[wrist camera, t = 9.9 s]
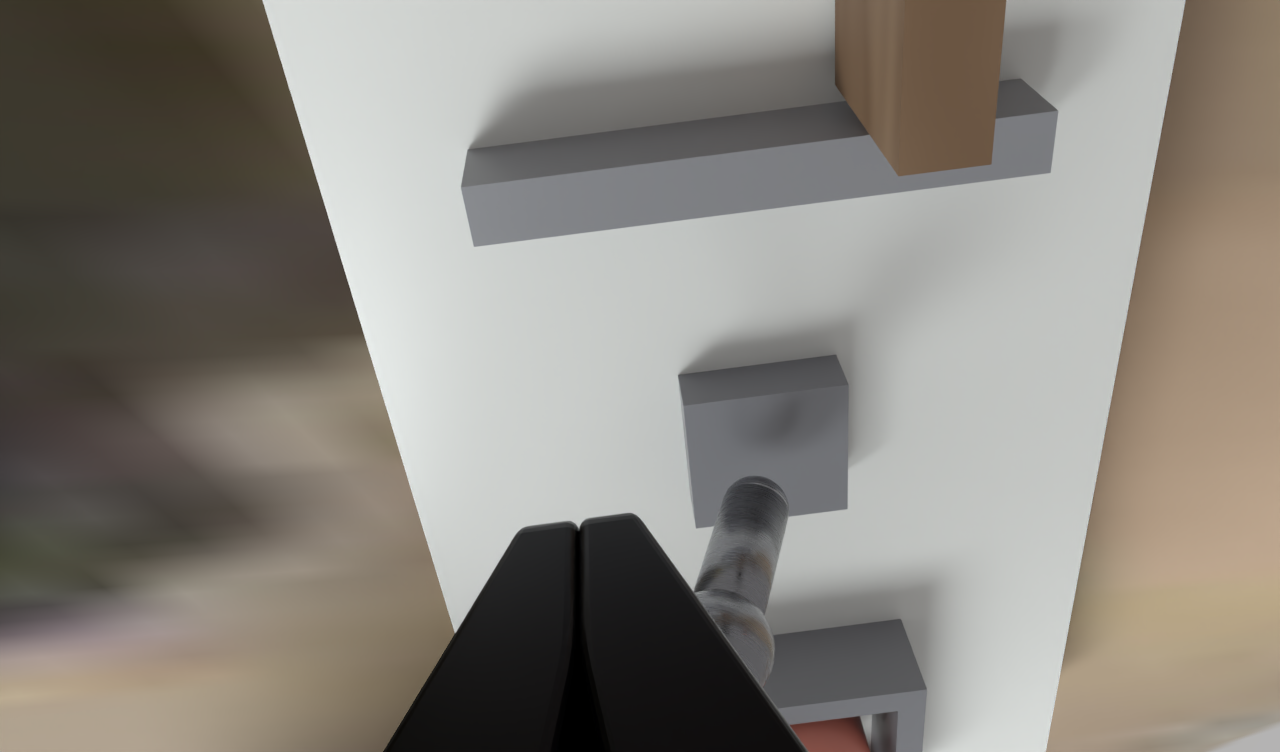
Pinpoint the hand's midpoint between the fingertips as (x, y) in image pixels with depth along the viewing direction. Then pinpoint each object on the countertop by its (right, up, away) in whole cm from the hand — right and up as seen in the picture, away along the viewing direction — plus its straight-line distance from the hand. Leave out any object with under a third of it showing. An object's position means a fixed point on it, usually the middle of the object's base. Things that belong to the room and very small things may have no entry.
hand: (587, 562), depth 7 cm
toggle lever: (+3, 0, +12) cm, 12 cm away
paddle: (+4, +8, +8) cm, 12 cm away
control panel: (+3, +2, +14) cm, 15 cm away
